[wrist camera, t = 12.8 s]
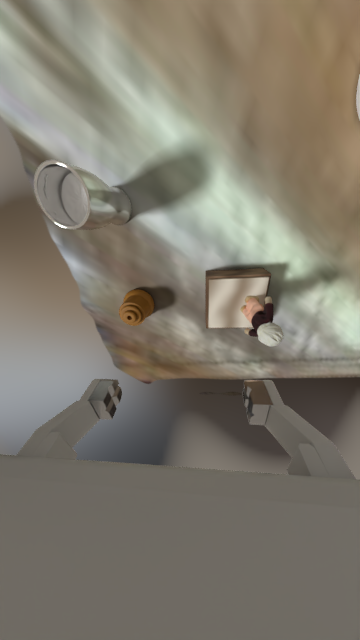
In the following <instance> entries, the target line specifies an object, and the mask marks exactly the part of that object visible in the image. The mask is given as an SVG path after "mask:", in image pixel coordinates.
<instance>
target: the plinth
mask: <svg viewBox="0 0 360 640" xmlns="http://www.w3.org/2000/svg"><path fill="white" fill-rule="evenodd" d="M270 278H271V273H270V272H268V271H267V270H265V269H264V268H257V269H236V270H216V271H206V328H253V326H252V324H251V323H250V322H249V320H248V319H247V318H246V317H245V315H244V314H243V313H242V312H241V311H240V309H241V307H242V306H244V305H247V303H246V302H245V298H246V297H247V296H257V297H258V298H259V303H260V304H262V306H263V307H265V298H266V297H267V293H268V288H269V283H270Z"/></svg>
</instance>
